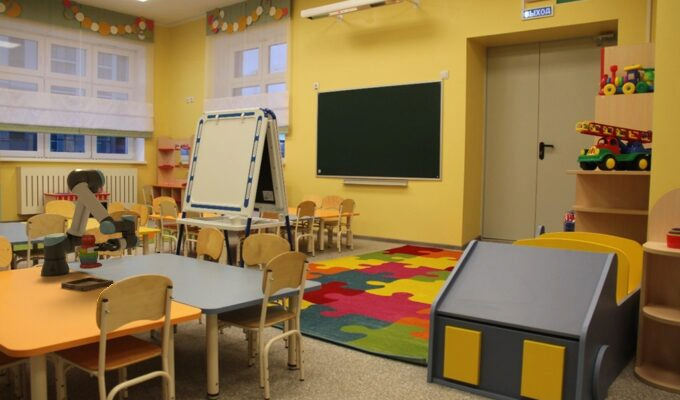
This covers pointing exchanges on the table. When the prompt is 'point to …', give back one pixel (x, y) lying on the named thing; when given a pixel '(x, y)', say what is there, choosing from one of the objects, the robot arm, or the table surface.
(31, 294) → the table surface
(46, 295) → the table surface
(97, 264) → the stacking bear
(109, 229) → the robot arm
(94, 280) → the dark brown square tray
